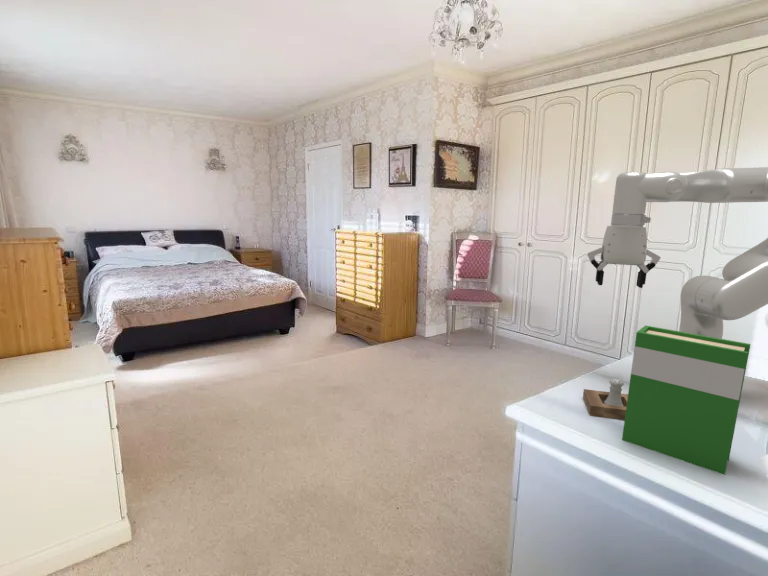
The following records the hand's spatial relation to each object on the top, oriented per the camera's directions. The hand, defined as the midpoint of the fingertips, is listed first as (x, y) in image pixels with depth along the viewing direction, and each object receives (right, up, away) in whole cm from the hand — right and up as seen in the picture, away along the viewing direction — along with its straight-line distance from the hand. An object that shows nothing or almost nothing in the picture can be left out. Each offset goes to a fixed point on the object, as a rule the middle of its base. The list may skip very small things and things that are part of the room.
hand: (619, 285), depth 118 cm
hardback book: (-3, -34, -27) cm, 44 cm away
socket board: (-5, -31, -10) cm, 33 cm away
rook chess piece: (-7, -31, -10) cm, 33 cm away
